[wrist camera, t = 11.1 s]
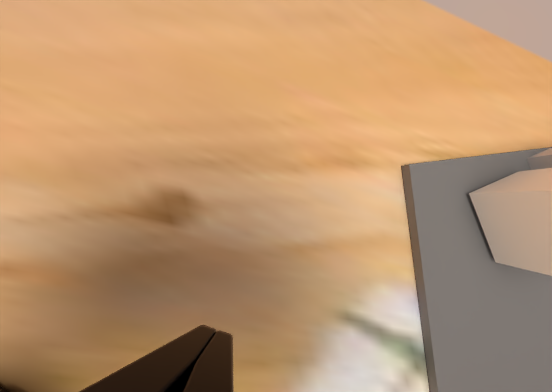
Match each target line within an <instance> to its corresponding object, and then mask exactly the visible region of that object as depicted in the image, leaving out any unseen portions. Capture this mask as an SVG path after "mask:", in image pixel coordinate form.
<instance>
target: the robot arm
mask: <svg viewBox="0 0 552 392" xmlns="http://www.w3.org/2000/svg"><path fill="white" fill-rule="evenodd" d="M0 392H9V391H7V390H6V389H4V388H3V387H1V386H0ZM80 392H233V337H232V335H231V334H229V333H226V332H223V331H220V330H219V331H217V332H216V330H215V329H214V328H211V327H208V326H205V325H201V326H199V327H197V328H195V329H193V330H191V331H189V332H188V333H186V334H184V335H182V336H180V337H178V338H177V339H175V340H173V341H171V342H169V343H167V344H166V345H164V346H162V347H160V348H158V349H156V350H155V351H153V352H151V353H149V354H147V355H145V356H144V357H142V358H140V359H138V360H136V361H134V362H133V363H131V364H129V365H127V366H125V367H123V368H122V369H120V370H118V371H116V372H114V373H112V374H111V375H109V376H107V377H105V378H103V379H101V380H100V381H98V382H96V383H94V384H92V385H91V386H89V387H87V388H85V389H83V390H81V391H80Z"/></svg>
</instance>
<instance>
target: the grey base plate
mask: <svg viewBox="0 0 552 392" xmlns="http://www.w3.org/2000/svg"><path fill="white" fill-rule="evenodd" d="M401 167H402V175H403V183H404V191H405V198H406V206H407V214H408V222H409V230H410V238H411V246H412V254H413V262H414V269H415V277H416V285H417V293H418V301H419V309H420V317H421V325H422V332H423V340H424V348H425V356H426V364H427V372H428V380H429V388H430V392H552V276H550V275H546V274H542V273H538V272H534V271H529V270H525V269H521V268H517V267H513V266H509V265H505V264H501V263H496V262H495V260H494V257H493V254H492V252H491V249H490V247H489V244H488V241H487V239H486V236H485V234H484V231H483V229H482V226H481V223H480V221H479V218H478V216H477V213H476V210H475V208H474V205H473V203H472V200H471V198H470V195H469V193H471V192H473V191H475V190H478V189H480V188H482V187H484V186H487V185H489V184H491V183H494V182H496V181H498V180H500V179H503V178H505V177H507V176H509V175H512V174H514V173H516V172H518V171H527V170H536V169H545V168H552V147H549V148H541V149H533V150H524V151H516V152H508V153H500V154H491V155H483V156H475V157H466V158H458V159H450V160H442V161H433V162H425V163H417V164H409V165H404V166H401Z"/></svg>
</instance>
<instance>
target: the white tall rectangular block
mask: <svg viewBox="0 0 552 392" xmlns="http://www.w3.org/2000/svg"><path fill="white" fill-rule="evenodd" d="M469 195H470V198H471V200H472V203H473V205H474V208H475V210H476V213H477V216H478V218H479V221H480V223H481V226H482V229H483V231H484V234H485V236H486V239H487V241H488V244H489V247H490V249H491V252H492V254H493V257H494V260H495V262H496V263H501V264H505V265H509V266H513V267H517V268H521V269H525V270H529V271H534V272H538V273H542V274H546V275H550V276H552V168H545V169H536V170H527V171H518V172H516V173H514V174H512V175H509V176H507V177H505V178H503V179H500V180H498V181H496V182H494V183H491V184H489V185H487V186H484V187H482V188H480V189H478V190H475V191H473V192H471V193H469Z"/></svg>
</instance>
